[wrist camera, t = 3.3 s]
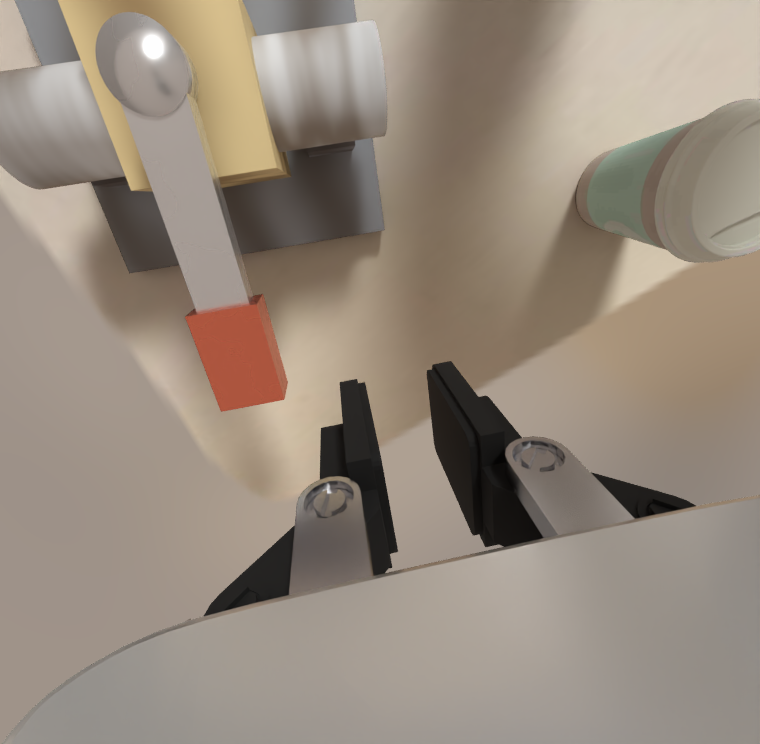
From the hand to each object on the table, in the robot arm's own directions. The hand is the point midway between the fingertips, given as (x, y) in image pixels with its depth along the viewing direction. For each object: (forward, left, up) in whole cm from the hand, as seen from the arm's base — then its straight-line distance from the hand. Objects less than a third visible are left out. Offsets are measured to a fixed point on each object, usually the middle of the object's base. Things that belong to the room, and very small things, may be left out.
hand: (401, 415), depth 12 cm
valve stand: (+7, -12, -22) cm, 26 cm away
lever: (+7, -5, -10) cm, 13 cm away
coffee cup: (-22, -4, -22) cm, 31 cm away
